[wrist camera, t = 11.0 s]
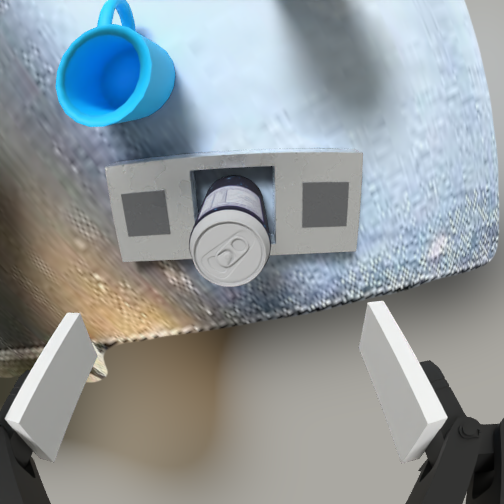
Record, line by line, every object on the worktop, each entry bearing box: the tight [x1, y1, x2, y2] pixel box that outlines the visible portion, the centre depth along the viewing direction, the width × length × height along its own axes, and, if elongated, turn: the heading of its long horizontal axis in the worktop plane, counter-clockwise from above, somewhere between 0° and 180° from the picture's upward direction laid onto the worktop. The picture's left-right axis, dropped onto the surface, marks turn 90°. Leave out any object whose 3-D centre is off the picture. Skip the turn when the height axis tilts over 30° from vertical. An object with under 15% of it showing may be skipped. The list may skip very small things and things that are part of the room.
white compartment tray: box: [105, 148, 363, 262], centre depth 31 cm, size 24×10×3 cm, turn 92°
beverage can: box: [189, 175, 271, 287], centre depth 27 cm, size 6×6×12 cm
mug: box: [56, 0, 175, 127], centre depth 22 cm, size 12×8×8 cm
